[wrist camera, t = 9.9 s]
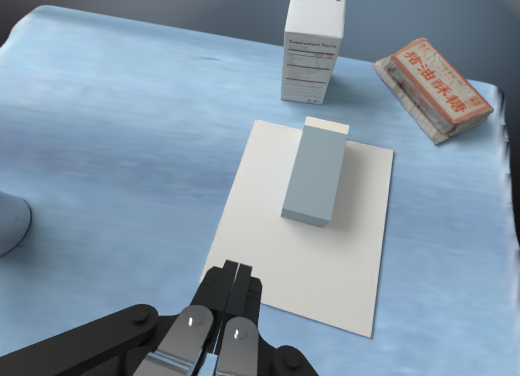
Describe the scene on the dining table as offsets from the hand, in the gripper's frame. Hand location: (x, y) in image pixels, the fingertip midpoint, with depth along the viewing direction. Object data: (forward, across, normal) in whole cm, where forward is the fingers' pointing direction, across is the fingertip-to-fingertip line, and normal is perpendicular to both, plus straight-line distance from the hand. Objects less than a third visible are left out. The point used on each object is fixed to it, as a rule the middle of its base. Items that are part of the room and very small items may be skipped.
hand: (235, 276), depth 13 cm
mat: (+22, -6, +3) cm, 23 cm away
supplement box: (+35, -2, -14) cm, 38 cm away
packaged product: (+36, -22, -18) cm, 46 cm away
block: (+19, -6, +3) cm, 20 cm away
